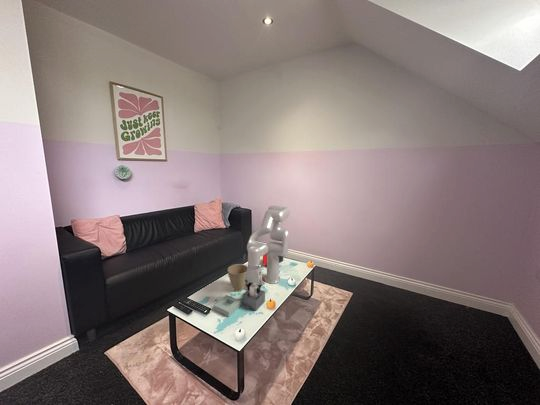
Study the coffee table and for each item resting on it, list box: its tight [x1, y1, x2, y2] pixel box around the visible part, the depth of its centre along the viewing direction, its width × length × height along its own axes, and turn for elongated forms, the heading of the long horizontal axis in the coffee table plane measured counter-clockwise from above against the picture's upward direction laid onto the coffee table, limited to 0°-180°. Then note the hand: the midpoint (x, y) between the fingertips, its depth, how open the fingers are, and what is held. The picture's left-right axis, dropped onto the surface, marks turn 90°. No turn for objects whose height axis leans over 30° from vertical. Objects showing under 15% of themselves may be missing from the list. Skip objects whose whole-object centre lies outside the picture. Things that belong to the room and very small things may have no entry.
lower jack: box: [213, 294, 242, 318], centre depth 132 cm, size 12×12×4 cm
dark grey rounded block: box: [241, 289, 266, 312], centre depth 136 cm, size 11×11×8 cm
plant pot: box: [227, 263, 248, 292], centre depth 152 cm, size 15×15×16 cm
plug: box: [250, 283, 257, 297], centre depth 135 cm, size 4×3×7 cm
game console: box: [262, 253, 284, 268], centre depth 192 cm, size 28×6×15 cm, turn 140°
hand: (253, 290), depth 135 cm, fingers open, 6 cm apart
